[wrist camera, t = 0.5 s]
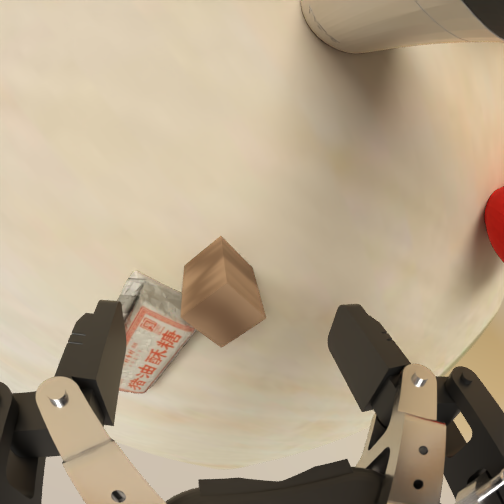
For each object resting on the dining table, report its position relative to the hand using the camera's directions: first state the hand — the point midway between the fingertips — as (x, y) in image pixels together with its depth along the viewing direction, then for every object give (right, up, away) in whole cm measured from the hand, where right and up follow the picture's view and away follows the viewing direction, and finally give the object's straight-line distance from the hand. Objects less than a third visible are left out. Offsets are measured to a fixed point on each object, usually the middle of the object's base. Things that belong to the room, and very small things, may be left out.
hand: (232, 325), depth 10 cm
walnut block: (-3, +1, +20) cm, 21 cm away
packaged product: (-13, -8, +24) cm, 29 cm away
